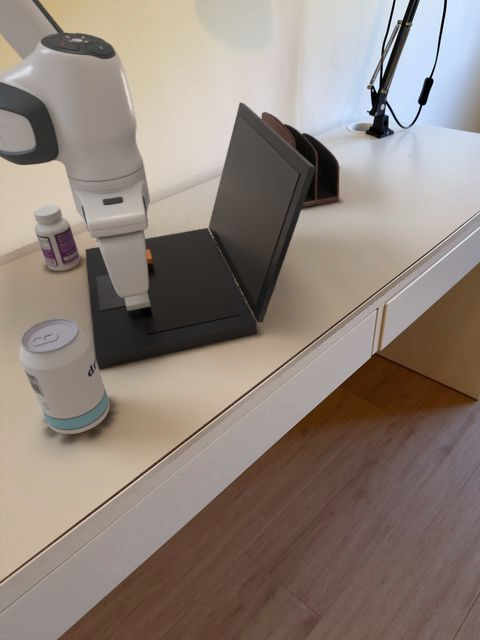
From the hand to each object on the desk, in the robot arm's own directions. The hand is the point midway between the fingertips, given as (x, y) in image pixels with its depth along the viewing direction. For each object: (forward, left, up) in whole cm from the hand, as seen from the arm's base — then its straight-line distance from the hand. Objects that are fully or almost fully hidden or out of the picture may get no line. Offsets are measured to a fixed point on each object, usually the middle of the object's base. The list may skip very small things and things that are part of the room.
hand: (132, 289), depth 72 cm
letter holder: (+37, +36, -5) cm, 52 cm away
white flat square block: (0, 0, -3) cm, 3 cm away
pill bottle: (-10, +21, -5) cm, 24 cm away
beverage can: (-9, -17, -5) cm, 20 cm away
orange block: (+2, +12, -3) cm, 12 cm away
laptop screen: (+18, +6, +7) cm, 20 cm away
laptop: (+4, +6, -5) cm, 9 cm away
